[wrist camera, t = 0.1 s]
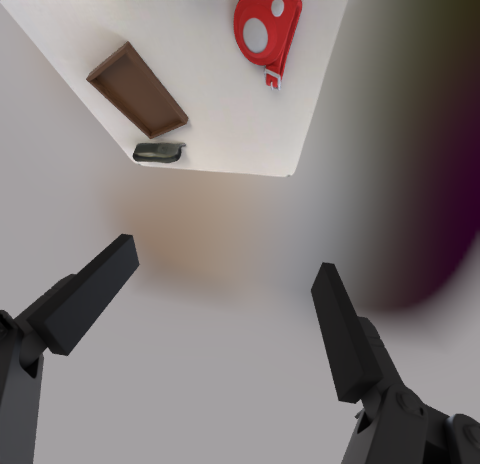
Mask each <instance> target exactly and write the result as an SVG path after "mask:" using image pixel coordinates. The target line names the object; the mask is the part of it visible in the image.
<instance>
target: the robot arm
mask: <svg viewBox="0 0 480 464" xmlns="http://www.w3.org/2000/svg"><path fill="white" fill-rule="evenodd" d="M138 266H139V261H138V257H137V252H136V248H135V243H134V240H133V236H132V235H126V234H121V235H120V236H119V237H118V238H117V239H116V240H114V241H113V242H112V243H111V244H110V245H109V246H108V247H106V248H105V249H104V250H103V251H102V252H101V253H100V254H99V255H97V256H96V257H95V258H94V259H93V260H92V261H91V262H90V263H88V264H87V265H86V266H85V267H84V268H83V269H82V270H81V271H80V272H79V273H78V274H70V275H69V276H67V277H65V278H63V279H61V280H60V281H58V282H57V283H56V284H55V285H54V286H53V287H52V288H51V289H49V290H48V291H47V292H45V293H44V295H42V296H41V297H40V298H38V299H37V300H36V301H35V302H34V303H32V304H31V305H30V306H29V307H28V308H27V309H25V310H24V311H23V312H22V313H21V314H20V315H19V316H17V317H16V318H15V319H12V317H11V316H10V315H9V314H8V313H7V312H6V311H4V310H0V464H33V457H34V448H35V438H36V428H37V418H38V409H39V399H40V390H41V380H42V371H43V361H44V357H43V352H44V350H45V349H46V348H47V347H48V348H49V349H50V351H51V352H52V353H54V354H59V355H65V356H68V355H69V354H70V352H71V351H72V350H73V348H74V347H75V346H76V345H77V343H78V342H79V341H80V340H81V338H82V337H83V336H84V335H85V333H86V332H87V331H88V330H89V328H90V327H91V326H92V324H93V323H94V322H95V321H96V319H97V318H98V317H99V316H100V314H101V313H102V312H103V310H104V309H105V308H106V307H107V305H108V304H109V303H110V302H111V300H112V299H113V298H114V297H115V295H116V294H117V293H118V292H119V290H120V289H121V288H122V286H123V285H124V284H125V283H126V281H127V280H128V279H129V278H130V276H131V275H132V274H133V273H134V271H135V270H136V269H137V267H138ZM311 293H312V297H313V301H314V305H315V309H316V313H317V317H318V321H319V325H320V329H321V332H322V337H323V341H324V344H325V349H326V353H327V357H328V360H329V364H330V368H331V372H332V376H333V380H334V384H335V388H336V392H337V396H338V400H339V401H342V402H349V403H354V404H356V402H358V401H359V400H360V399H361V400H362V403H363V406H364V408H363V409H362V410H361V411H360V412H359V413H357V415H356V416H355V418H356V419H358V418H359V419H358V422H357V424H356V427H355V429H354V432H353V434H352V437H351V440H350V442H349V445H348V447H347V450H346V452H345V455H344V457H343V460H342V462H341V464H480V423H478V422H477V421H475V420H474V419H472V418H471V417H469V416H467V415H464V414H455V415H453V416H451V417H450V416H448V415H446V414H444V413H442V412H440V411H438V410H436V409H434V408H432V407H429V406H428V405H425V404H424V403H423V402H422V401H421V400H420V398H419V397H418V396H417V395H416V394H415V393H414V392H413V391H412V390H411V389H409V388H407V387H406V386H405V385H404V383H403V381H402V380H401V378H400V376H399V374H398V372H397V370H396V368H395V366H394V364H393V362H392V360H391V358H390V356H389V354H388V352H387V350H386V348H385V347H384V344H383V342H382V340H381V339H380V336H379V334H378V332H377V330H376V328H375V326H374V325H373V324H372V323H371V322H370V321H369V320H368V318H365V317H358V316H357V315H356V312H355V310H354V308H353V305H352V303H351V301H350V299H349V296H348V294H347V292H346V290H345V287H344V285H343V283H342V281H341V278H340V276H339V274H338V272H337V269H336V267H335V265H334V264H331V263H324V262H323V263H322V265H321V267H320V270H319V272H318V275H317V277H316V279H315V281H314V284H313V286H312V289H311Z"/></svg>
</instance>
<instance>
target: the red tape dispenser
mask: <svg viewBox="0 0 480 464" xmlns="http://www.w3.org/2000/svg"><path fill="white" fill-rule="evenodd" d="M301 10H302V1H301V0H239V2H238V4H237V7H236V10H235V13H234V34H235V38H236V41H237V44H238V46H239V48H240V50H241V52H242V53H243V54H244V56H245V57H246V58H247V59H248V60H249V61H251V62H252V63H254V64H257V65H266V69H265V70H264V72H265V80H266V84H267V85H268V86H271V89H272V90H273V88H275V89H277V90H280V89H281V80H282V76H283V72H284V67H285V63H286V58H287V55H288V51H289V48H290V45H291V42H292V39H293V36H294V32H295V29H296V26H297V23H298V20H299V17H300V13H301Z"/></svg>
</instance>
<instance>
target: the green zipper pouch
mask: <svg viewBox="0 0 480 464" xmlns="http://www.w3.org/2000/svg"><path fill="white" fill-rule="evenodd" d="M182 146H186V145H185V144H148V143H142V144H138V145H137V146H136V149H135V151H134V153H133V159H134V160H135V161H138V162H141V161H142V162H161V163H171V162H175V161H177V160H179V158H180V156H181V147H182Z"/></svg>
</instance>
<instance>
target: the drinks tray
mask: <svg viewBox="0 0 480 464" xmlns="http://www.w3.org/2000/svg"><path fill="white" fill-rule="evenodd" d="M86 80H87V81H88V82H89V83H90V84H92V85H93V86H94V87H95V88H96V89H97V90H98V91H99V92H100V93H101V94H102V95H103V96H104V97H106V98H107V99H108V100H109V101H110V102H111V103H112V104H113V105H114V106H115V107H116V108H117V109H118V110H120V111H121V112H122V113H123V114H124V115H125V116H126V117H127V118H128V119H129V120H130V121H131V122H133V123H134V124H135V125H136V126H137V127H138V128H139V129H140V130H141V131H142V132H143V133H144V134H145V135H147V136H148V137H149V138H150V139H152V138H154V137H157V136H159V135H162V134H164V133H166V132H169V131H171V130H174V129H176V128H178V127H181V126H183V125H185V124H187V121H188V117H187V115H186V114H185V113H184V111H183V110H182V109H181V108H180V106H179V105H178V104H177V103H176V101H175V100H174V99H173V98H172V96H171V95H170V94H169V92H168V91H167V90H166V89H165V87H164V86H163V85H162V84H161V82H160V81H159V80H158V78H157V77H156V76H155V75H154V73H153V72H152V71H151V70H150V68H149V67H148V66H147V65H146V63H145V62H144V61H143V59H142V58H141V57H140V56H139V54H138V53H137V52H136V51H135V49H134V48H133V47H132V46H131V44H130V43H129V42H128V41H127V42H126V43H125V44H124V45H123V46H121V47H120V48H119V49H118V50H117V51H116V52H114V53H113V54H112V55H111V56H110V57H108V58H107V59H106V60H105V61H104V62H102V63H101V64H100V65H99V66H98V67H97V68H95V69H94V70H93V71H92V72H91V73H90V74H89V75H88V77H87V78H86Z"/></svg>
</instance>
